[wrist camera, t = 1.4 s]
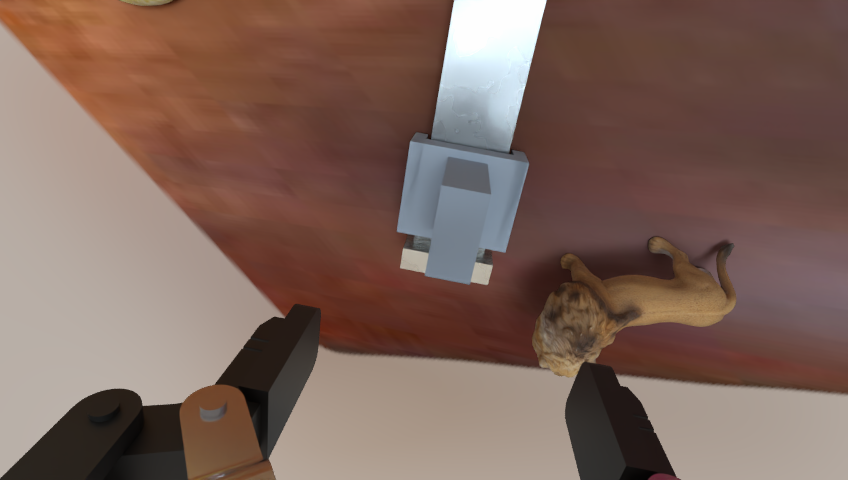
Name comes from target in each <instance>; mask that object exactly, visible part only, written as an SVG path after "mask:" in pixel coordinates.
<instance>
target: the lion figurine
mask: <svg viewBox="0 0 848 480" xmlns="http://www.w3.org/2000/svg"><path fill="white" fill-rule="evenodd" d="M733 247H734V244H733V243H731V244H728V245H724V246H722V247H721V248H720V250H719V251H718V255H717V258H716V262H717V272H718V277H719V281H720V284H721V287H720V286H719V284H718V283H717V282H716V281H715V280H714V278H713V276H712V274H711V273H710V272H709V271H707V270H705V269H703V268H696V267H695V266H693V265H692V264H691V263H690V262H689V261H688V257H687V255H686V254H685V253H684V252H682V251H680V250H679V249H677V248H675V247H674V246H672V245H671V244H670V243H669V242H668V241H666V240H665V239H663V238H661V237H653V238H651V239H650V240H649V242H648V249H649V250H650V251H651V252H653V253H664V254H667V255H669V256H670V257H671V258H672V259H673V272H674V275H675V277H674V278H673V279H670V280H666V279H659V278H655V277H650V276H644V275H623V276H617V277H613V278H610V279H606V280H603V281H602V280H600V279H599V278H598V277H596V276H595V275H593V274H592V273H591V272H590V271H589V270H588V269H587V268H586V267H585V265H584V264H583V262H582V261H581V260H580V259H579V258H578V257H577V256H575V255H573V254H570V253H568V254H565V255H564V256H563V257H562V258H561V264H562V268H564V269H569V270H570V271H571V276H572V280H573V281H571V282H566V283H562V284H561V285H560V287H559V289H558V290H557V291H554V292H552V293H551V294H550V296H549V297H548V300H547V301H546V304H545V306H544V309H543V311H542V313H541V314H540V315H539V317H538V318H537V320H536V324H535V331H534V333H533V336H532V340H533V342H532V344H533V346H534V350H535V351H536V353H537V356H538V359H539V364H540V366H541V367H543V368H550V369H551V371H553V372H554V374H556V375H558V376H566V377H573V376H575V375H577V374H578V371H579V369H580V366H581V364H582V363H583V362H585V361H586V362H591V363H596V362H595V359H596V358H597V357H598V356H599V353H600V352H601V349H602V348H604V347H606V346H607V345H609V344H611V343H612V342H613V341H614V338H615V334H616V333H617V332H618V331H620V330H621V329H623V328H624V327H628V326H639V325H649V324H654V323H659V322H677V323H683V324H687V325H691V326H698V327H704V326H709V325H712V324H715V323H717V322H719V321H721V320H722V318H723V316H724V315H725V314H727V313H729V312H730V311H731V310H732V309H733V308H734V306H735V304H736V294H735V291H734V288H733V286H732V283H731V281H730V279H729V277H728V274H727V272H726V268H725V264H726V259H727V257H728V256H729V255H730V253H731V251H732V249H733Z"/></svg>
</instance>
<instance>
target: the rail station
mask: <svg viewBox="0 0 848 480" xmlns="http://www.w3.org/2000/svg"><path fill="white" fill-rule="evenodd" d="M545 4H546V0H454V5H453V11H452V17H451V23H450V29H449V35H448V41H447V47H446V52H445V58H444V64H443V70H442V76H441V82H440V88H439V94H438V100H437V106H436V112H435V118H434V124H433V130H432V136H431V140H436V141H441V142H446V143H452V144H457V145H463V146H468V147H473V148H479V149H484V150H490V151H495V152H500V153H506V154H509V150H510V146H511V142H512V138H513V134H514V130H515V126H516V122H517V118H518V113H519V109H520V105H521V101H522V97H523V93H524V89H525V85H526V81H527V77H528V73H529V69H530V65H531V61H532V57H533V52H534V48H535V44H536V40H537V36H538V32H539V28H540V24H541V20H542V16H543V12H544V8H545ZM431 239H432V238H427V237H422V236H416V235H411V234H408V236H407V239H406V242H405V245H404V247H403V253H402V259H401V265H400V268H402V269H407V270H413V271H418V272H423V273H425V271H426V266H427V261H428V255H429V250H430V245H431ZM492 267H493V262H492V250H489V249H484V248H478V252H477V257H476V261H475V265H474V269H473V273H472V278H471V282H474V283H479V284H485V285H488V282H489V279H490V275H491V271H492Z"/></svg>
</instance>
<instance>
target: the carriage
mask: <svg viewBox="0 0 848 480" xmlns="http://www.w3.org/2000/svg"><path fill="white" fill-rule="evenodd" d="M427 138H428V134H423V133H418V132H416V133H415V135H414V136H413V138H412V139H411V141H410V146H409V153H408V160H407V166H406V173H405V180H404V187H403V193H402V200H401V207H400V214H399V220H398V227H397V232H401V233H406V234H411V235H416V236H422V237H427V238H432V239H431V245H430V250H429V255H428V261H427V266H426V271H425V276H428V277H433V278H438V279H443V280H449V281H454V282H459V283H464V284H469V285H470V282H471V278H472V273H473V269H474V265H475V261H476V257H477V252H478V248H484V249H489V250H495V251H500V252H506V248H507V244H508V241H509V237H510V233H511V229H512V226H513V222H514V218H515V215H516V211H517V207H518V203H519V200H520V196H521V192H522V188H523V185H524V181H525V177H526V174H527V170H528V166H529V161H528V159H527V157H526V155H525V153H524V152H521V151H515V150H512V152H511V154H506V153H500V152H495V151H490V150H484V149H479V148H473V147H468V146H463V145H457V144H452V143H446V142H441V141H436V140H430V139H427Z"/></svg>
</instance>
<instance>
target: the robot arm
mask: <svg viewBox="0 0 848 480" xmlns="http://www.w3.org/2000/svg"><path fill="white" fill-rule="evenodd" d="M320 318H321V310H320V308H315V307H310V306H305V305H300V304H295V305H294V306H293V307H292V309H291V310H290V312H289V313H288V314H287V316H286V317H285V319H284V318H279V317H273V318H271V319H270V320H268V321H266V322H265V323H263V324H261V325H260V326H259V327H258V328H257V330H256V331H255V332H254V334H253V335H252V336H251V339H249V340H248V341H247V343H246V344H245V345H244V348H243V349H241V351H240V352H239V353H238V355H237V356H236V357H235V359H234V360H233V361H232V362H231V364H230V365H229V366H228V368H227V369H226V370H225V372H224V373H223V374H222V376H221V377H220V378H219V380H218V381H217V382H216V384H215V385H212V386H208V387H204V388H202V389H199V390H197V391H195V392H194V393H192V394H191V395H190V396H188V397H187V398H186V400H185V401H184V402H183V403H178V404H170V405H169V404H168V405H152V406H142V400H141V398H140V396H139V395H138V394H137V393H135V392H133V391H130V390H127V389H110V390H105V391H101V392H98V393H95V394H92V395H90V396H88V397H86V398H84V399H83V400H81V401H80V402H78V403H77V404H76V405H75V406H74V407H72V408H71V409H70V410H69V411H68V412H67V413H66V414H65V415H64V416H63V417H62V418H61V419H60V420H59V421H58V422H57V423H56V424H55V425H54V426H53V427H52V428H51V429H50V430H49V431H48V432H47V433H46V434H45V435H44V436H43V437H42V438H41V439H40V440H39V441H38V442H37V443H36V444H35V445H34V446H33V447H32V448H31V449H30V450H29V451H28V452H27V453H26V454H25V455H24V456H23V457H22V458H21V459H20V460H19V461H18V462H17V463H16V464H15V465H14V466H13V467H12V468H10V469H9V471H8V472H7V473H5V474H4V475H3V476H2V477H1V478H0V480H276V478H275V475H274V472H273V469H272V466H271V463H270V461H269V460H268V459H269V457H270V454H271V452H272V450H273V448H274V446H275V444H276V442H277V440H278V438H279V436H280V434H281V432H282V430H283V428H284V426H285V424H286V422H287V420H288V418H289V416H290V414H291V412H292V410H293V408H294V406H295V404H296V402H297V400H298V398H299V396H300V394H301V391H302V390H303V388H304V386H305V384H306V382H307V380H308V378H309V376H310V374H311V372H312V370H313V367H314V364H315V361H316V358H317V353H318V344H319V331H320ZM565 419H566V424H567V428H568V432H569V436H570V440H571V444H572V448H573V452H574V456H575V460H576V464H577V468H578V472H579V476H580V479H581V480H681V479H679V478H677V477H676V475H675V473H674V471H673V469H672V466H671V464H670V462H669V460H668V458H667V456H666V454H665V452H664V450H663V448H662V445H661V443H660V441H659V439H658V437H657V435H656V433H654V429H653V427H652V425H651V422H650V421H649V420H648V416H647V414H646V412H645V410H644V408H643V406H642V404H641V402H640V401H639V400H638V398H637V397H636V396H635V395H634V394H633V393H632V392H631V391H630V390H629V389H628V387H623V386H620V384H619V382H618V379H617V377H616V375H615V373H614V370H613V369H612V367H610V366H606V365H601V364H596V363H591V362H586V361H585V362H583V363H582V364H581V366H580V369H579V371H578V374H577V376H576V379H575V381H574V384H573V386H572V389H571V391H570V394H569V396H568V399H567V402H566V409H565Z"/></svg>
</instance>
